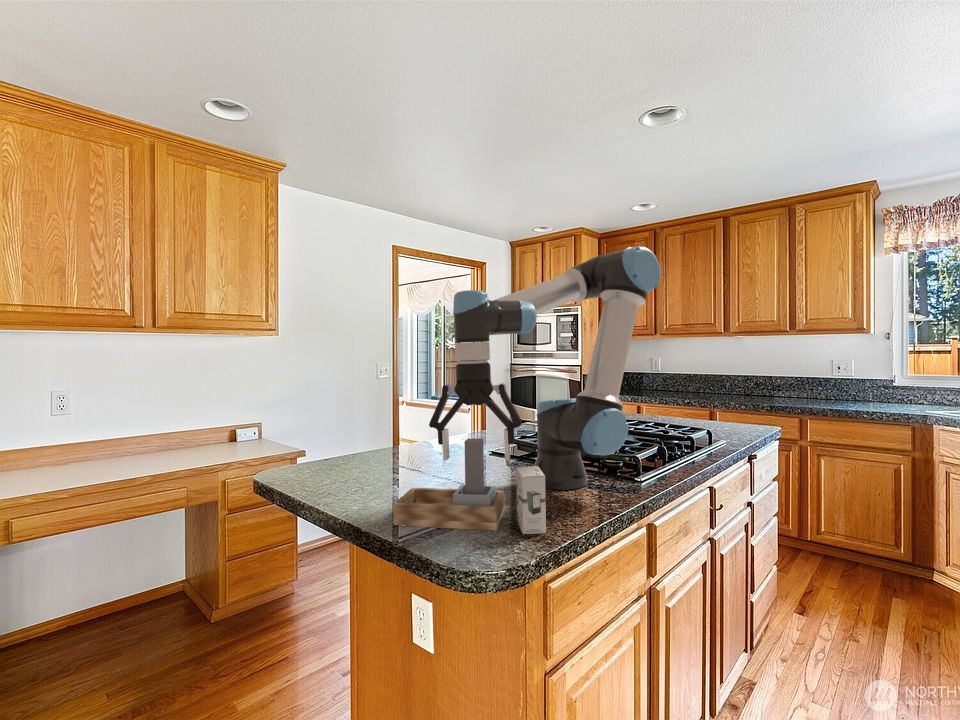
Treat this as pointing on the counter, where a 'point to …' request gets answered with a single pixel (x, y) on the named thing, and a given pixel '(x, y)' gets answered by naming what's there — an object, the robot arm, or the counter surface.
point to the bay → (445, 510)
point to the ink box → (531, 500)
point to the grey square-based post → (474, 478)
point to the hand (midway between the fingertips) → (476, 459)
